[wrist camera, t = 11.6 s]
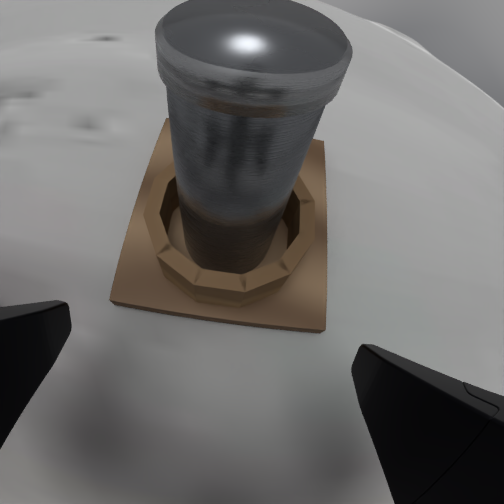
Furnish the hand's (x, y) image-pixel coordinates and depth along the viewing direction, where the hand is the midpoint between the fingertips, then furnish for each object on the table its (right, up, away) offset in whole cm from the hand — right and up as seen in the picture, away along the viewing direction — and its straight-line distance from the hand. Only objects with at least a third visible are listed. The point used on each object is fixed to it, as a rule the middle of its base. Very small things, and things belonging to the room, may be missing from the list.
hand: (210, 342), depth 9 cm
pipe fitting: (0, +5, +10) cm, 11 cm away
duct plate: (0, +5, +12) cm, 13 cm away
